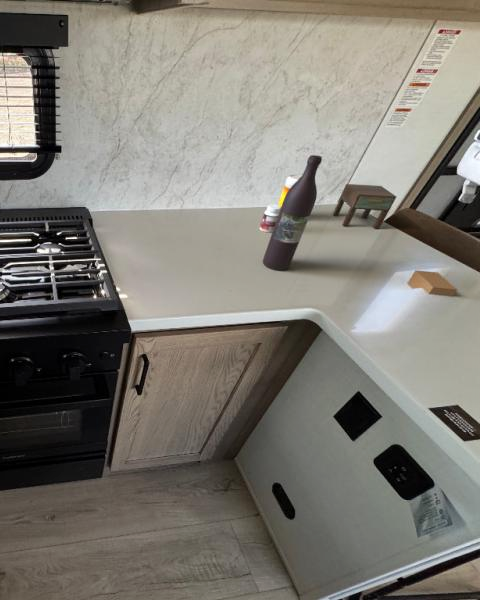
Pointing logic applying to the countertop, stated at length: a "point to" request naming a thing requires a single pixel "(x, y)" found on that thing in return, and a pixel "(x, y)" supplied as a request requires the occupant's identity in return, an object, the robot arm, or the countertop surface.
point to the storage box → (431, 283)
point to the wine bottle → (292, 218)
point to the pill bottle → (270, 218)
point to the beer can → (288, 186)
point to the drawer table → (365, 202)
